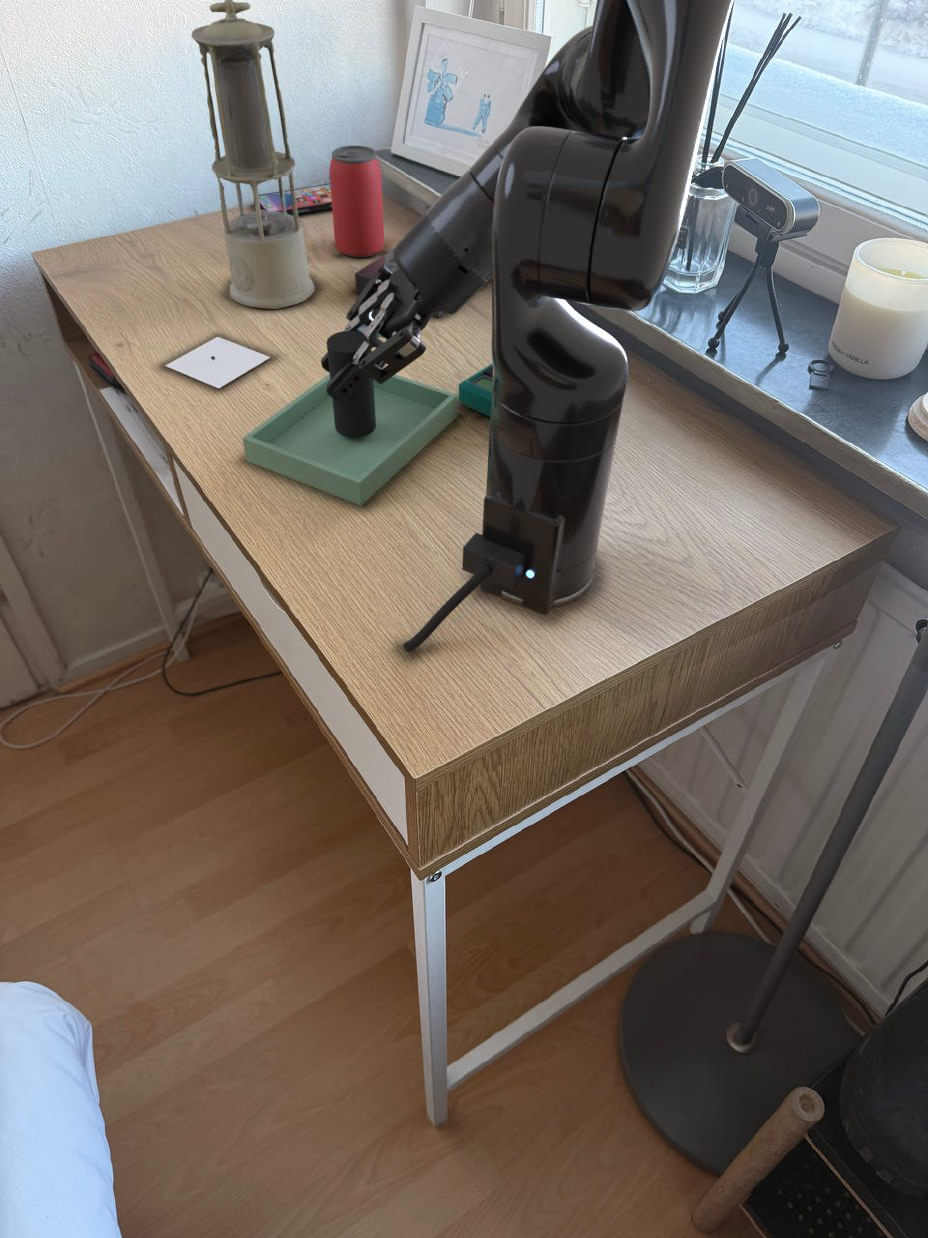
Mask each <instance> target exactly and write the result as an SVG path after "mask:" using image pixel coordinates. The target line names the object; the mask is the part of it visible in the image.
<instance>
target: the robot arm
mask: <svg viewBox="0 0 928 1238" xmlns="http://www.w3.org/2000/svg"><path fill="white" fill-rule="evenodd" d="M733 3H734V0H596V4H595V11H594V14H593V15H594V16H593V21H592V25H590V26H589V25H588V26H587V27H585V28H583V29H580V30H579V32H577V33H576V34H574V35H572V37H571V38H569V39H568V40H567V41H566V42H565V43H564V44H563V45H562V46H561V47H560V48H559V50H557V52H556V53H555V54H554V55H553V57H552V58H551V59H550V60H549V62H548V63H547V64H546V65H545V68H544V69H543V71H542V72H541V73H540V74H539V76H538V78H537V80H536V81H535V82H534V84H533V85H532V87H531V88H530V90H529V92H528V93H527V95H526V96H525V98H524V99H523V101H522V103H520V106H519V108H518V110H517V111H516V113H515V115H514V117H513V118H512V120H511V122H510V123H509V125H508V126H506V128H505V129H504V131H502V133H501V134H499V136H497V137H496V139H494V141H493V142H492V143H491V144H490V145H488V148H487V149H485V151H484V152H482V153H481V155H480V156H479V157H478V159H476V161H475V162H474V163H473V164H472V165H471V167H470V168H469V169H468V170H467V171H465V173H464V174H462V176H460V177H459V178H458V179H457V180H456V181H453V182H452V184H451V185H450V186H449V187H448V188H447V189H446V190H445V191H443V193H442V194H441V195H440V196H439V197H438V199H436V200H435V202H433V204H432V205H431V206H430V207H429V209H427V210H426V212H425V213H424V214H423V215H422V216H421V217H420V218H419V219H418V221H417V222H416V223H415V224H414V225H413V226H412V228H411V229H410V230H409V231H408V232H407V233H406V234H405V235H404V236H403V238H402V239H401V240H400V241H399V242H398V243H397V244H396V245H395V246H394V248H393V249H394V251H393V255H394V259H395V261H396V263H397V265H398V267H399V269H398V270H396V271H395V272H391V271H390V270H389V269H388V268H387V267H386V266H385V265H381V266H380V267H379V268H378V269H377V271H376V272H375V274H374V275H373V277H372V278H371V280H370V281H369V283H368V284H367V285H366V287H365V288H364V290H363V291H362V293H361V294H359V296H358V297H357V298H356V300H355V301H354V303H353V304H352V306H351V307H350V308H349V310H348V311H347V313H346V315H345V318H346V320H348V321H349V322H347V324H346V325H345V327H344V329H343V331H358V332H362V333H364V339H365V340H364V342H363V344H362V345H361V346H360V348H359V349H358V350H357V352H356V353H355V354H354V356H353V358H352V360H351V359H350V360H349V361H348V362H347V363H346V364H345V365H344V366H343V367H342V368H341V370H340V371H339V372H338V373H337V374H336V375H335V376H334V377H333V378H332V379H331V380H330V381H329V382H328V384H327V385H326V390H327V394H328V395H330V396H331V397H333V398H334V399H335V400H337V401H338V402H340V403H345V402H346V401H347V400H348V399H349V398H350V397H351V396H352V395H353V394H354V393H355V392H356V391H357V390H358V389H359V387H360V386H361V385H362V384H363V383H364V382H365V381H366V380H367V379H368V378H370V377H371V378H372V379H374V380H375V381H376V382H378V383H379V384H383V383H384V382H385V381H387V380H388V379H389V378H391V377H392V376H394V375H397V374H398V373H399V372H401V371H402V370H404V369H405V368H407V367H408V366H409V365H410V364H412V363H413V362H415V361H416V360H417V359H419V358H420V357H422V356H423V355H424V353H425V352H426V351H427V345H426V343H424V342H423V341H422V340H421V339H420V336H421V332H422V331H423V330H425V328H426V327H427V325H428V324H429V322H430V320H431V319H432V317H434V316H433V314H434V313H435V312H437V311H443V312H444V314H446V315H449V316H450V315H456V314H457V313H458V312H459V311H460V310H461V309H462V308H463V306H464V305H466V303H467V302H469V300H470V299H471V298H473V296H474V295H476V293H477V292H478V291H479V290H480V289H481V288H482V287H483V286H484V285H485V284H486V283H487V282H488V281H489V280H490V279H491V295H492V296H491V342H490V345H491V346H490V348H491V349H490V351H491V362H492V363H491V364H493V378H492V399H491V417H489V431H488V432H489V435H488V450H487V451H488V453H487V470H486V471H487V473H486V488H485V489H486V491H485V496H484V499H483V510H482V512H483V513H482V528H481V529H482V530H481V533H479V532H475V533H474V534H473V535H472V536H471V537H470V539H468V541H467V542H466V543H465V544H464V545H463V547H462V568H461V569H462V571H464V572H468V573H470V574H471V575H472V577H471V578H469V579H468V580H467V581H466V582H465V583H464V584H463V585H462V586H461V587H460V588H459V589H458V590H457V591H456V592H455V593H454V594H453V595H452V596H451V597H450V598H449V599H447V601H445V603H444V604H443V605H442V606H441V607H440V608H439V609H438V610H437V611H436V612H435V613H434V614H433V615H432V616H431V617H430V619H429V620H428V621H427V622H426V623H425V625H423V627H422V628H421V629H420V630H419V631H418V632H417V633H416V634H415V635H413V637H411V638H410V639H409V640H408V641H406V642H404V643H403V644H402V646H403V649H404V650H405V652H407V653H411V652H413V651H415V650H416V649H418V648H419V647H420V646H421V645H422V644H423V643H424V642H425V641H427V640H428V639H429V637H430V636H431V635H432V634H433V633H434V632H435V630H436V629H437V628H438V627H439V626H440V625H441V624H442V623H443V622H444V620H445V619H446V618H448V616H449V615H450V614H451V613H452V612H454V610H455V609H456V608H457V607H458V606H460V604H461V603H462V602H464V600H465V599H466V598H467V597H468V596H469V595H470V594H472V593H473V592H474V591H475V590H476V589H477V588H478V587H479V589H480V590H482V591H484V592H488V593H490V594H492V595H493V596H496V597H498V598H501V599H504V600H505V601H508V602H510V603H513V604H514V605H518V606H520V607H523V608H526V609H527V610H531V611H532V612H535V613H538V614H540V615H543V616H547V615H548V614H550V612H551V610H553V609H554V608H557V607H561V606H565V605H568V604H570V603H572V602H575V601H576V600H578V599H579V598H581V597H582V596H583V595H584V594H586V593H587V591H589V588H590V587H591V585H592V583H593V580H594V574H595V568H596V567H595V563H596V557H597V552H598V545H599V540H600V532H601V527H602V522H603V515H604V511H605V505H606V499H607V493H608V487H609V482H610V475H611V469H612V464H613V459H614V454H615V447H616V442H617V437H618V431H619V427H620V426H619V425H620V421H621V415H622V409H623V403H624V398H625V395H626V388H627V382H628V377H629V361H628V356H627V353H626V351H625V350H624V348H623V347H622V345H621V344H620V343H619V342H618V340H617V339H616V338H615V337H614V336H612V335H611V333H609V332H607V331H606V330H604V329H603V328H601V327H599V326H598V325H597V324H595V323H593V322H592V321H590V320H589V319H587V318H586V317H584V316H583V315H581V313H579V312H578V311H577V310H576V309H574V308H573V306H572V305H570V303H569V302H573V303H577V304H582V305H589V306H594V307H598V308H605V309H610V310H615V311H622V312H640V311H642V310H644V309H646V308H647V307H649V305H651V303H652V302H653V301H654V300H655V298H656V297H657V296H658V294H659V292H660V290H661V288H662V285H663V284H664V282H665V279H666V277H667V274H668V272H669V268H670V266H671V263H672V260H673V256H674V254H675V250H676V246H677V243H678V238H679V235H680V230H681V226H682V222H683V217H684V213H685V209H686V205H687V200H688V195H689V191H690V187H691V182H692V178H693V177H692V176H693V172H694V167H695V163H696V157H697V154H698V149H699V144H700V141H701V135H702V130H703V125H704V121H705V118H706V111H707V107H708V104H709V102H708V101H709V100H710V99H709V98H710V94H711V89H712V84H713V80H714V76H715V72H716V71H715V70H716V67H717V63H718V58H719V54H720V50H721V45H722V41H723V39H724V35H725V31H726V27H727V23H728V19H729V16H730V13H731V9H732V6H733ZM380 338H383V339H386V340H385V341H382V340H381V339H380ZM374 348H375V349H374ZM371 349H373V350H372V352H371V353H369V352H370V351H371ZM368 353H369V354H368ZM320 364H321V365H320V366H321V368H322V369H323V370H324V371H326V372H327V373H329V374H330V371H329V362H328V352H326V353H325V354H324V355H323V356H322V358H321V360H320Z"/></svg>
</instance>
